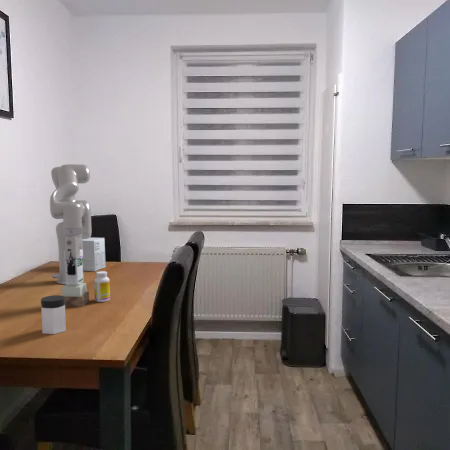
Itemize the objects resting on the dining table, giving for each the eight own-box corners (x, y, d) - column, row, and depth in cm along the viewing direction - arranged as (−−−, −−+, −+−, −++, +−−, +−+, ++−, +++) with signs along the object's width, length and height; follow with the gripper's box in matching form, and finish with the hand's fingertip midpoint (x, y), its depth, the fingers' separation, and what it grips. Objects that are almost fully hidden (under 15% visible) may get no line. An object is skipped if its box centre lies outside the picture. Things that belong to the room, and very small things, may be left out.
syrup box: (77, 284, 196) (76, 251, 194) (65, 283, 197) (63, 250, 195) (84, 281, 201) (83, 248, 200) (72, 280, 203) (70, 248, 201)
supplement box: (106, 267, 278) (105, 237, 275) (95, 271, 265) (94, 240, 263) (80, 265, 281) (79, 236, 279) (68, 270, 269) (67, 239, 267)
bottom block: (61, 307, 196) (61, 296, 195) (69, 301, 205) (68, 291, 204) (82, 307, 196) (82, 297, 195) (89, 301, 205) (88, 291, 204)
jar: (59, 324, 172) (58, 293, 171) (71, 329, 167) (70, 297, 166) (36, 331, 166) (35, 298, 164) (48, 336, 160) (47, 302, 159)
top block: (62, 296, 196) (61, 287, 196) (68, 291, 204) (68, 282, 204) (80, 296, 196) (80, 287, 196) (86, 291, 204) (86, 282, 204)
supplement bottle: (113, 299, 208) (112, 271, 206) (104, 303, 201) (103, 274, 200) (100, 297, 210) (99, 270, 208) (91, 301, 203) (90, 273, 202)
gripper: (74, 234, 188) (76, 277, 190) (88, 229, 205) (89, 268, 207) (56, 234, 188) (58, 277, 190) (71, 229, 205) (72, 268, 207)
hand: (74, 272), depth 199 cm, fingers closed on syrup box, 6 cm apart
